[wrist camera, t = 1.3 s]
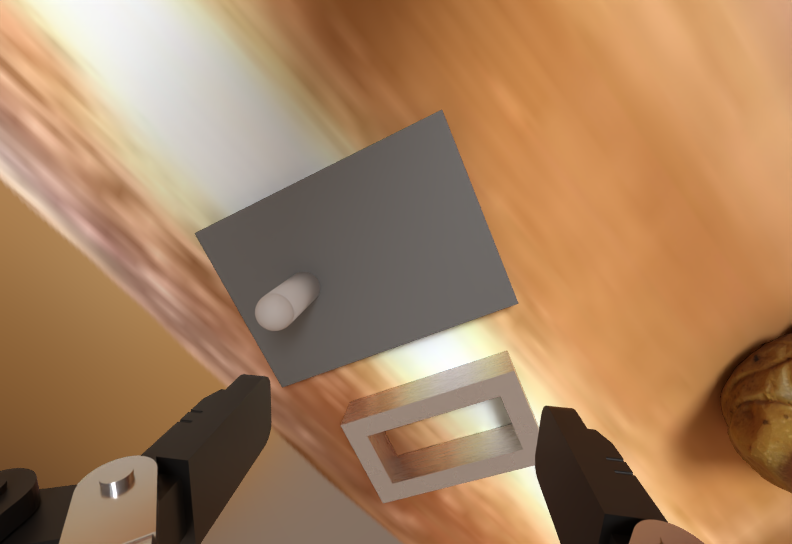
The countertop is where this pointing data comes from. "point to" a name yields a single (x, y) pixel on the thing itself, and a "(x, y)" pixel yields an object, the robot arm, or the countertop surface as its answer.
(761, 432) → the bread roll
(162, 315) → the countertop surface
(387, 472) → the steel link
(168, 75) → the countertop surface
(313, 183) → the board
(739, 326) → the countertop surface
